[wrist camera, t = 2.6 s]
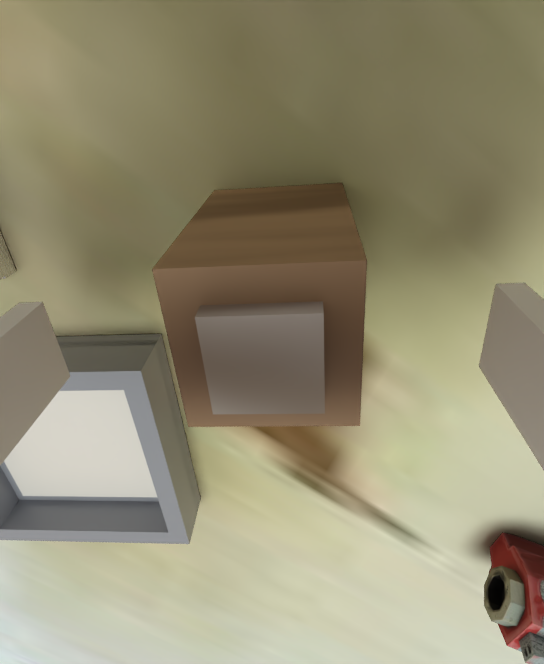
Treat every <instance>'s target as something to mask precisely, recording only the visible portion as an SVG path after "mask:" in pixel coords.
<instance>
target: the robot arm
mask: <svg viewBox="0 0 544 664" xmlns="http://www.w3.org/2000/svg"><path fill="white" fill-rule="evenodd" d="M479 367H480V369H481V371H482V372H483V374H484V375H485V377H486V379H487V380H488V382H489V383H490V385H491V387H492V388H493V390H494V391H495V393H496V395H497V396H498V398H499V399H500V401H501V403H502V404H503V406H504V407H505V409H506V411H507V412H508V414H509V416H510V417H511V419H512V420H513V422H514V424H515V425H516V427H517V428H518V430H519V432H520V433H521V435H522V436H523V438H524V440H525V441H526V443H527V444H528V446H529V448H530V449H531V451H532V452H533V454H534V456H535V457H536V459H537V460H538V462H539V464H540V465H541V467H542V468H543V470H544V299H543V298H541V297H540V296H539V295H538V294H537V293H536V292H535V291H534V290H533V289H531V288H530V287H529V286H528V285H527V284H526V283H500V284H495V289H494V294H493V299H492V304H491V309H490V314H489V319H488V324H487V329H486V333H485V338H484V343H483V348H482V353H481V358H480V363H479ZM69 378H70V373H69V371H68V368H67V365H66V363H65V360H64V357H63V355H62V352H61V349H60V347H59V344H58V341H57V339H56V336H55V333H54V331H53V328H52V325H51V323H50V320H49V317H48V314H47V312H46V309H45V306H44V304H43V302H26V303H18V304H17V305H15V306H14V307H13V308H11V309H10V310H9V311H8V312H6V313H5V314H4V315H3V316H1V317H0V465H1V464H2V463H3V462H4V460H5V459H6V458H7V457H8V455H9V454H10V453H11V451H12V450H13V449H14V448H15V446H16V445H17V444H18V442H19V441H20V440H21V439H22V437H23V436H24V435H25V434H26V432H27V431H28V430H29V428H30V427H31V426H32V425H33V423H34V422H35V421H36V420H37V418H38V417H39V416H40V414H41V413H42V412H43V411H44V409H45V408H46V407H47V406H48V404H49V403H50V402H51V400H52V399H53V398H54V397H55V395H56V394H57V393H58V392H59V390H60V389H61V388H62V386H63V385H64V384H65V383H66V381H67V380H68V379H69Z"/></svg>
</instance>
